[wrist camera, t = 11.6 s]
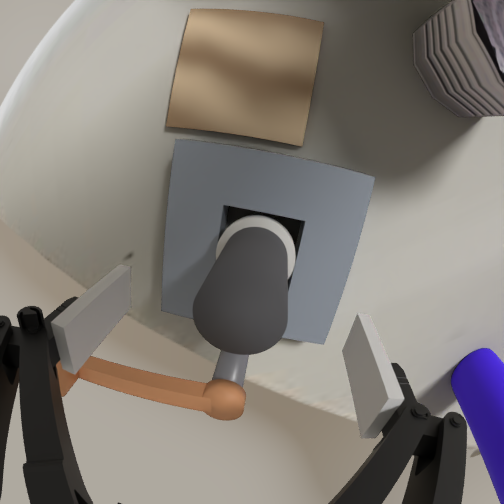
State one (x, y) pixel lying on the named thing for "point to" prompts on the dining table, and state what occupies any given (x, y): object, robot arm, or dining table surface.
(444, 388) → the dining table surface
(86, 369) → the ball-ended peach stick
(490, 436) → the bottle
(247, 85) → the coaster
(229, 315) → the plug
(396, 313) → the dining table surface
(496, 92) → the can
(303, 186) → the socket
